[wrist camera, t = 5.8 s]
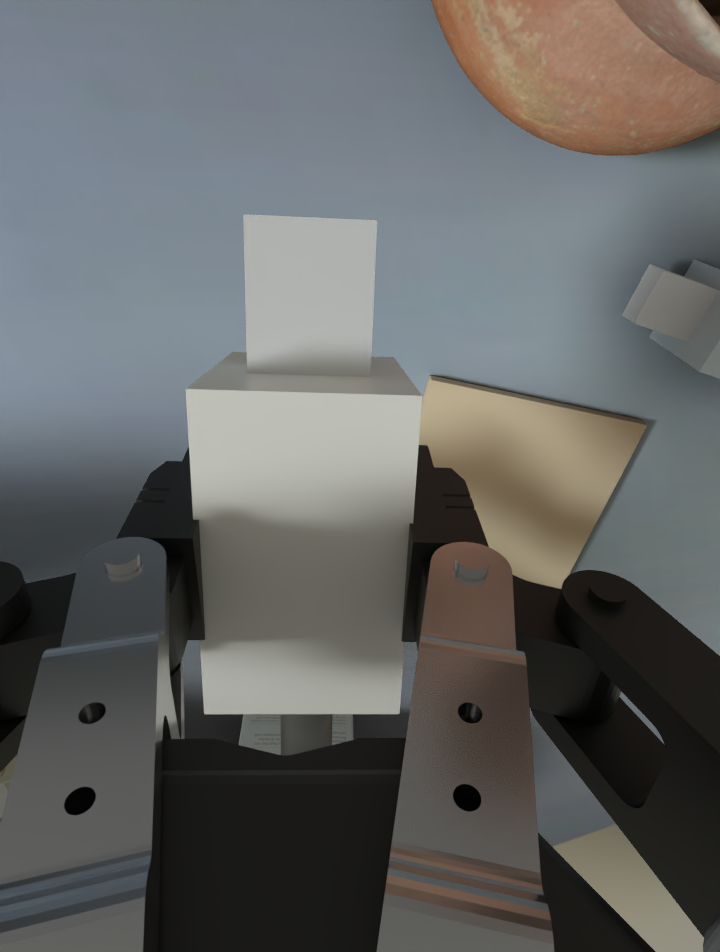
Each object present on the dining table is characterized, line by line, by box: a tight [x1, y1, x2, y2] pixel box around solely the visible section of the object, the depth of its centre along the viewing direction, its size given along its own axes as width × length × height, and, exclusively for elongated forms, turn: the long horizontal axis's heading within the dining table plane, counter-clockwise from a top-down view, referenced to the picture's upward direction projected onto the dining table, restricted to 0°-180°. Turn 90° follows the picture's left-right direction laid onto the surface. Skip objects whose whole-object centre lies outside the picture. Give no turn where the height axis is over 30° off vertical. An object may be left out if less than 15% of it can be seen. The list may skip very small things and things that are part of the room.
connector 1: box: [186, 215, 422, 755], centre depth 12 cm, size 12×4×4 cm, turn 178°
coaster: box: [419, 375, 647, 589], centre depth 31 cm, size 11×11×1 cm
